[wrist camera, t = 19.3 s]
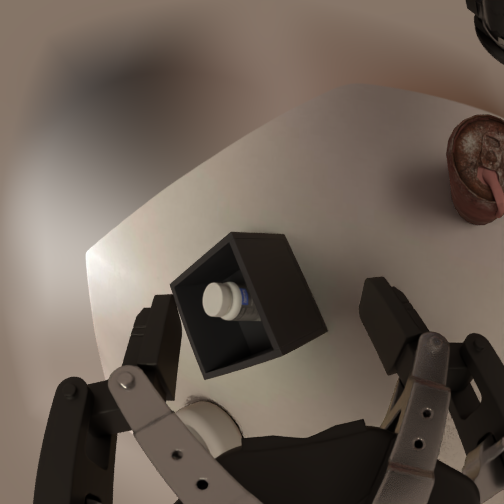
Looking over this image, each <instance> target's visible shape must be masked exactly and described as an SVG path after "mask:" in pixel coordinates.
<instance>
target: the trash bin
mask: <svg viewBox="0 0 504 504" xmlns="http://www.w3.org/2000/svg"><path fill="white" fill-rule="evenodd" d="M225 282H236V283H243V284H246V285H247V287H248V290H249V292H250V294H251V297H252V299H253V302H254V304H255V307H256V309H257V311H258V314H259V316H260V319H261V321H232V320H224V319H222V318H221V317H211V316H209V315H207V314H206V312H205V310H204V307H203V294H204V291H205V289H206V287H207V286H208V285H209V284H211V283H222V284H223V283H225ZM170 287H171V290H172V293H173V295H174V297H175V301H176V305H177V308H178V311H179V314H180V317H181V319H182V322H183V325H184V328H185V331H186V333H187V336H188V339H189V341H190V344H191V347H192V349H193V352H194V355H195V357H196V360H197V362H198V365H199V367H200V370H201V372H202V375H203V377H204V380H206V379H210V378H213V377H217V376H221V375H224V374H228V373H231V372H234V371H238V370H241V369H244V368H247V367H251V366H254V365H257V364H260V363H263V362H266V361H269V360H272V359H275V358H278V357H281V356H283V355H285V354H287V353H289V352H291V351H293V350H295V349H297V348H299V347H300V346H302V345H304V344H306V343H308V342H310V341H311V340H313V339H315V338H317V337H319V336H320V335H322V334H324V333H325V332H327V331H328V330H327V328H326V325H325V323H324V321H323V319H322V316H321V314H320V312H319V309H318V307H317V305H316V303H315V300H314V298H313V296H312V294H311V291H310V289H309V287H308V285H307V283H306V280H305V278H304V276H303V274H302V272H301V269H300V267H299V265H298V263H297V261H296V259H295V256H294V254H293V252H292V250H291V248H290V246H289V244H288V242H287V239H286V237H285V235H284V234H268V233H245V232H230V233H229V234H228V235H227V236H226V237H224V238H223V239H222V240H221V241H220V242H218V243H217V244H216V245H215V246H214V247H213V248H211V249H210V250H209V251H208V252H207V253H206V254H204V255H203V256H202V257H201V258H200V259H198V260H197V261H196V262H195V263H194V264H193V265H192V266H190V267H189V268H188V269H187V270H186V271H185V272H183V273H182V274H181V275H180V276H179V277H178V278H176V279H175V280H174V281H173V282H172V283H171V284H170Z"/></svg>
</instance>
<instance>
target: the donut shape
mask: <svg viewBox="0 0 504 504" xmlns="http://www.w3.org/2000/svg"><path fill="white" fill-rule="evenodd" d="M176 414H177V416H178V417H179V418H180V419H181V421H182V422H183V423H184V424H185V425H186V427H187V428H188V429H189V430H190V431H191V433H192V434H193V435H194V436H195V437H196V438H197V440H198V441H199V442H200V443H201V444H202V445H203V446H204V447H205V449H206V450H207V451H208V452H209V453H210V454H211V455H212V456H213V457H214V458H216V457H218V456H219V455H221V454H222V453H224V452H226V451H228V450H230V449H232V448H235V447H238V446H241V445H242V444H241V438H242V436H241V433H240V431H239V429H238V427H237V426H236V424H235V423H234V421H233V420H232V419H231V418H230V416H229V415H228V414H227V413H226V412H224V411H223V410H222V409H221V408H219V407H218V406H216V405H214V404H212V403H210V402H205V401H200V402H196V403H194V404H191V405H189V406H186V407H184V408H181V409H179V410H178V411H177V412H176Z"/></svg>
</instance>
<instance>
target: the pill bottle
mask: <svg viewBox="0 0 504 504" xmlns="http://www.w3.org/2000/svg"><path fill="white" fill-rule="evenodd" d="M203 307H204V310H205V312H206V314H207V315H209V316H211V317H221V318H222V319H224V320H232V321H261V319H260V316H259V314H258V311H257V309H256V307H255V304H254V302H253V299H252V297H251V294H250V292H249V290H248V287H247V285H246V284H243V283H236V282H225V283H223V284H222V283H211V284H209V285H208V286H207V287H206V289H205V291H204V294H203Z"/></svg>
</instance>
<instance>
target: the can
mask: <svg viewBox="0 0 504 504" xmlns="http://www.w3.org/2000/svg"><path fill="white" fill-rule="evenodd" d="M446 156H447V163H448V171H449V178H450V187H451V196H452V201H453V204H454V207H455V209H456V210H457V212H458V213H459V215H460V216H461V217H462V218H463V219H465V220H466V221H467V222H469V223H472V224H475V225H485V224H488V223H490V222H492V221H494V220H495V219H497V218H500V217H501V216H502V215H503V214H504V120H502V119H501V118H498V117H495V116H492V115H475V116H472V117H470V118H467V119H465V120H463V121H462V122H461V123H460V124H459V125H457V126H456V127H455V128H454V130H453V132H452V134H451V136H450V138H449V140H448V146H447V153H446Z"/></svg>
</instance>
